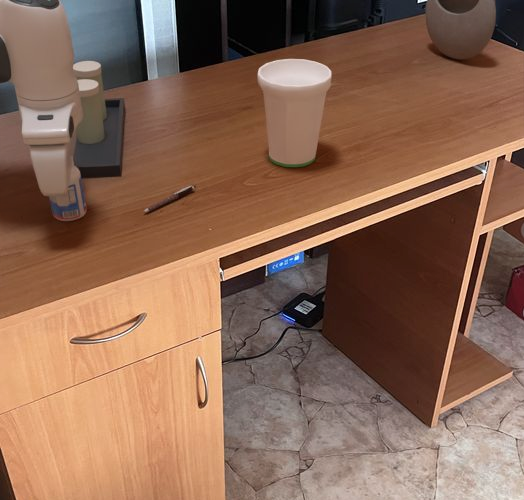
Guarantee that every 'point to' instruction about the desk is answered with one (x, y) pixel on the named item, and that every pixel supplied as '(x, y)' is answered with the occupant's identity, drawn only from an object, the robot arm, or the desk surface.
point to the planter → (460, 26)
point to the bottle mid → (90, 113)
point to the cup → (293, 108)
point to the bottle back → (92, 78)
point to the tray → (104, 145)
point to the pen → (171, 198)
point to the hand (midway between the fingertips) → (65, 193)
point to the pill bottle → (71, 199)
